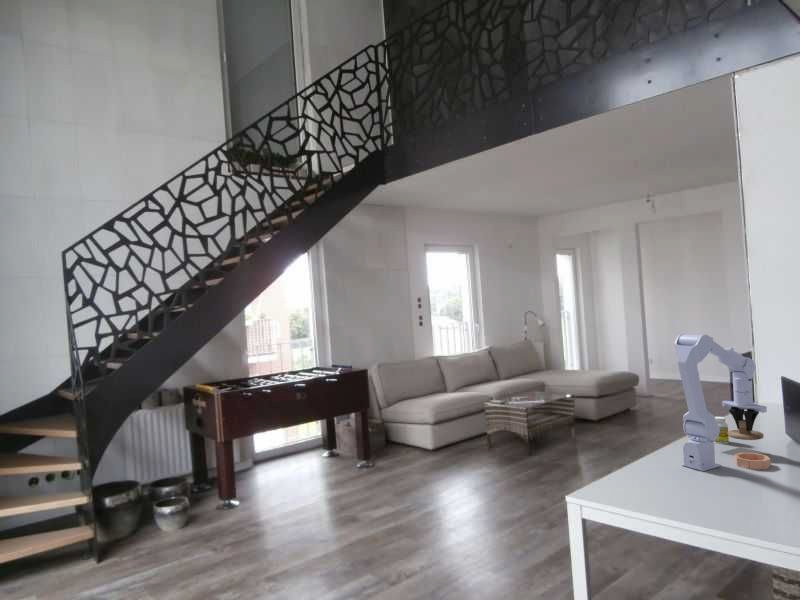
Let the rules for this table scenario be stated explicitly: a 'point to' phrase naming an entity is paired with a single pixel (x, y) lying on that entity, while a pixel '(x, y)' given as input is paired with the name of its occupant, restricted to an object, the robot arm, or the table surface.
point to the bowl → (752, 461)
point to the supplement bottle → (722, 431)
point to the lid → (745, 432)
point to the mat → (743, 451)
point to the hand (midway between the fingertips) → (744, 429)
